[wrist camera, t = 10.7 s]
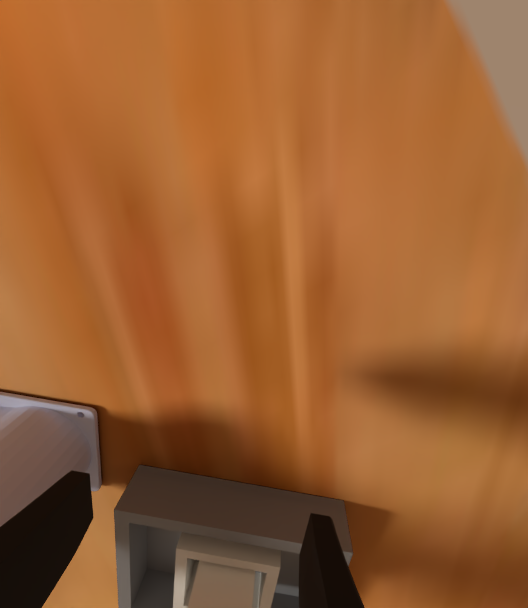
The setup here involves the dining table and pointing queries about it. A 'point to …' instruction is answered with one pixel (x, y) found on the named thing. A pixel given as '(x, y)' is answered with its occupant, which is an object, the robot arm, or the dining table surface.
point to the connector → (222, 587)
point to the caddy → (212, 536)
